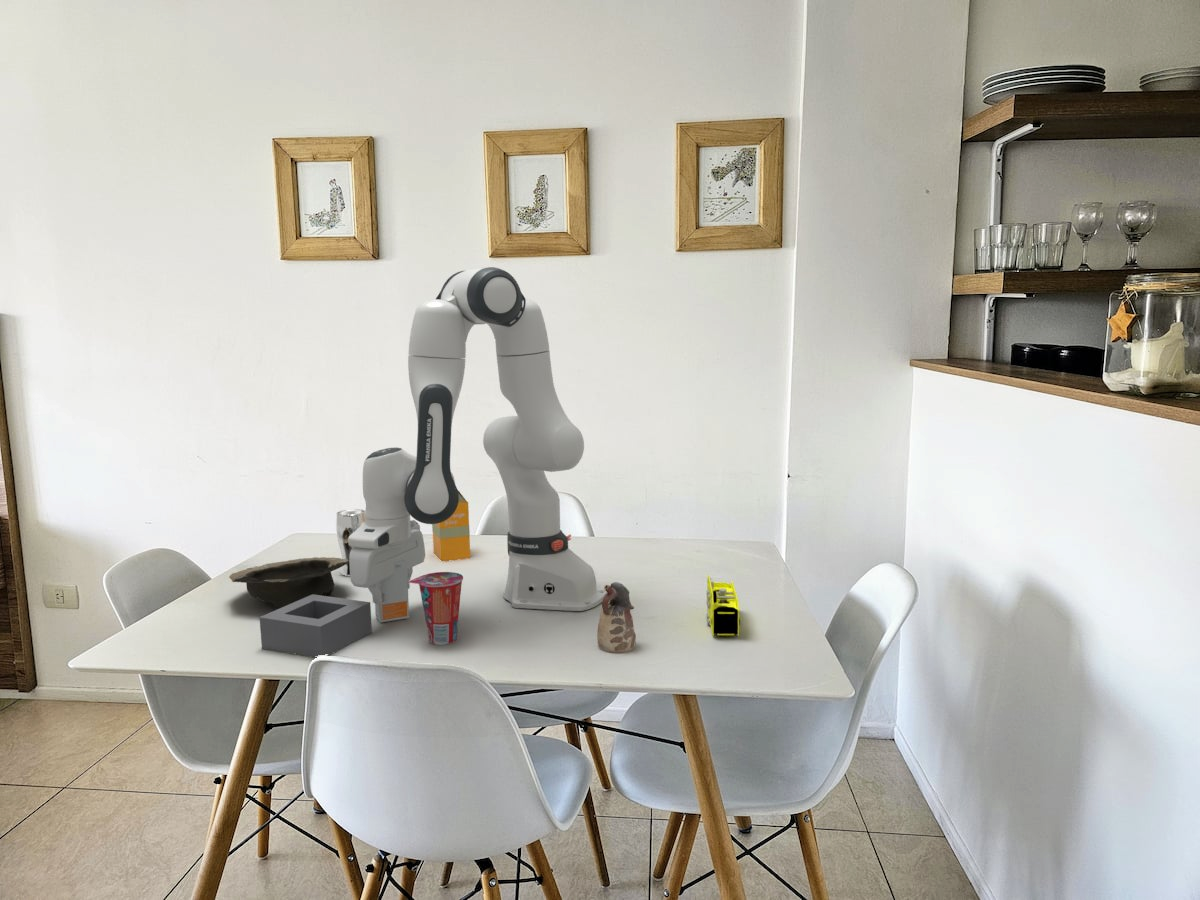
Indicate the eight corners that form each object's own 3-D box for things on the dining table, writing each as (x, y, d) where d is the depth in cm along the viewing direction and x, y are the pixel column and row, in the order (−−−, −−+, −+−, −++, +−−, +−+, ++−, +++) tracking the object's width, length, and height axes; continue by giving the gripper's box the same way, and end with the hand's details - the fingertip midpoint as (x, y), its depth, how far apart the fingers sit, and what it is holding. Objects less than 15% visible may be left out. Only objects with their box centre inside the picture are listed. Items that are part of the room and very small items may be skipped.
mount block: (371, 632, 161) (370, 602, 160) (322, 658, 148) (320, 626, 147) (314, 623, 166) (312, 594, 165) (261, 648, 153) (259, 617, 152)
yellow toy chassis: (704, 610, 170) (705, 571, 169) (732, 610, 170) (733, 571, 169) (709, 639, 155) (709, 596, 153) (740, 640, 154) (741, 596, 153)
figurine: (644, 647, 151) (643, 584, 149) (611, 656, 147) (610, 591, 145) (621, 635, 157) (621, 574, 155) (590, 643, 153) (589, 581, 151)
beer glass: (364, 577, 196) (360, 515, 194) (335, 577, 197) (331, 515, 194) (373, 568, 203) (369, 508, 201) (344, 568, 204) (341, 509, 201)
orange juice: (462, 549, 219) (459, 475, 217) (470, 558, 211) (468, 481, 209) (432, 553, 216) (429, 478, 213) (440, 562, 208) (437, 483, 205)
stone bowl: (307, 621, 167) (300, 576, 165) (206, 619, 174) (199, 576, 173) (374, 583, 190) (369, 543, 189) (283, 582, 198) (277, 545, 196)
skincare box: (380, 623, 165) (376, 565, 163) (375, 617, 169) (372, 560, 167) (410, 618, 168) (407, 561, 166) (405, 612, 172) (402, 556, 170)
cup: (450, 628, 162) (447, 568, 160) (474, 639, 156) (471, 578, 154) (407, 640, 156) (404, 578, 154) (430, 653, 150) (427, 589, 148)
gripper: (405, 516, 176) (409, 579, 178) (341, 540, 158) (346, 610, 160) (431, 519, 174) (433, 582, 176) (369, 542, 155) (373, 613, 157)
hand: (391, 596), depth 168 cm, fingers closed on skincare box, 7 cm apart
